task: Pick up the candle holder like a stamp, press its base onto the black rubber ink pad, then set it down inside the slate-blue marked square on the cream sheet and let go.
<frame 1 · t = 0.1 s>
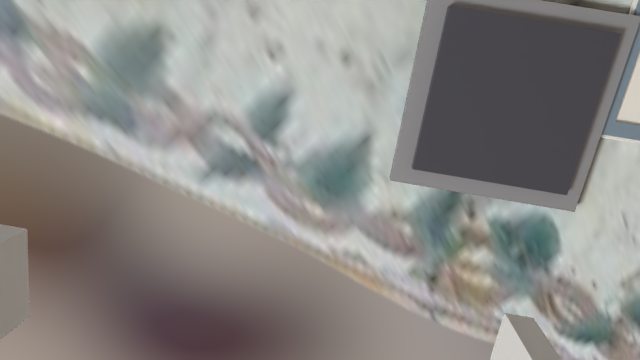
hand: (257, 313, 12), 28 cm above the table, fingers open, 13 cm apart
ink pad: (503, 102, 37), on the table
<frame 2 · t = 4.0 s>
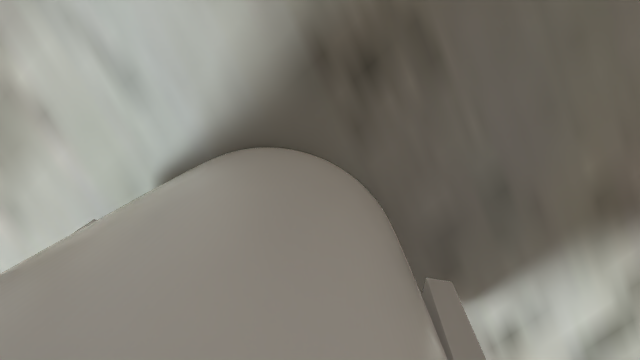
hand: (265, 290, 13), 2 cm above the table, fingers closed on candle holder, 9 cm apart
candle holder: (275, 264, 15), on the table, touching gripper
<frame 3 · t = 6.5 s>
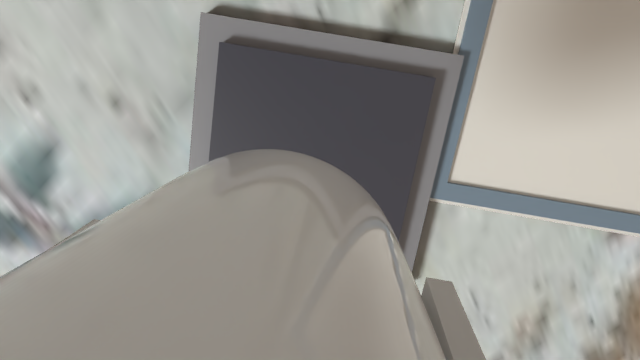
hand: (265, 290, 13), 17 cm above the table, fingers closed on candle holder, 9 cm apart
marked square: (605, 79, 27), on the table
ink pad: (312, 158, 30), on the table
candle holder: (275, 265, 15), point 16 cm above the table, touching gripper
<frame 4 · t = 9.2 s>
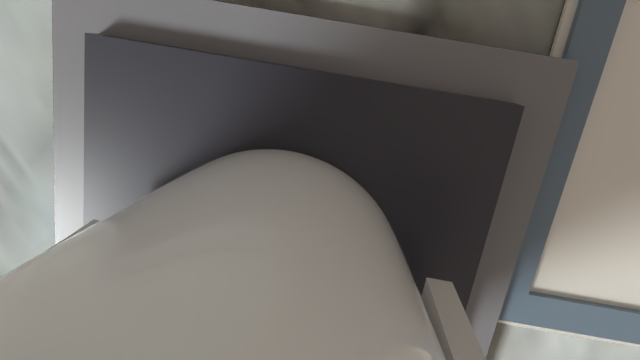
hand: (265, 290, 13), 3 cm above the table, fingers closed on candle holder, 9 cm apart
ink pad: (282, 245, 17), on the table
candle holder: (274, 265, 15), point 2 cm above the table, touching gripper, ink pad
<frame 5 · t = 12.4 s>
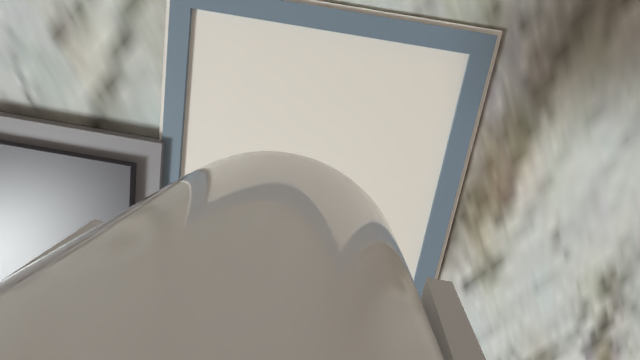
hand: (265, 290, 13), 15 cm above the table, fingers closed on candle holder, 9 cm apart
marked square: (309, 164, 28), on the table
ink pad: (46, 234, 31), on the table
candle holder: (274, 267, 15), point 13 cm above the table, touching gripper
when the fingers open (3 cm above the table, at t = 14.9 s): candle holder drops 1 cm, resting on marked square.
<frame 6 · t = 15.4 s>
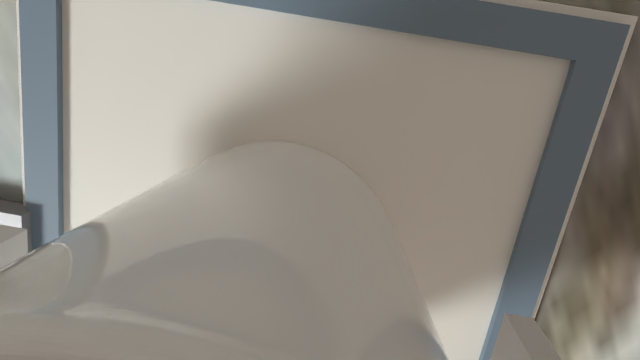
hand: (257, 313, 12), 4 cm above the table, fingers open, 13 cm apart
marked square: (280, 248, 16), on the table
candle holder: (279, 249, 16), resting on marked square
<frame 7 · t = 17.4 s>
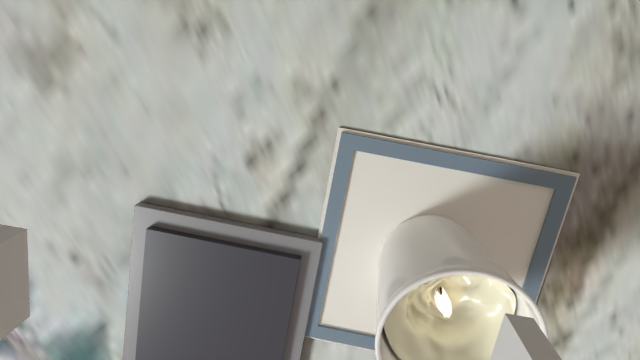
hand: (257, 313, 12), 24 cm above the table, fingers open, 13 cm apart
marked square: (428, 259, 37), on the table
ink pad: (219, 302, 40), on the table
candle holder: (428, 260, 37), resting on marked square
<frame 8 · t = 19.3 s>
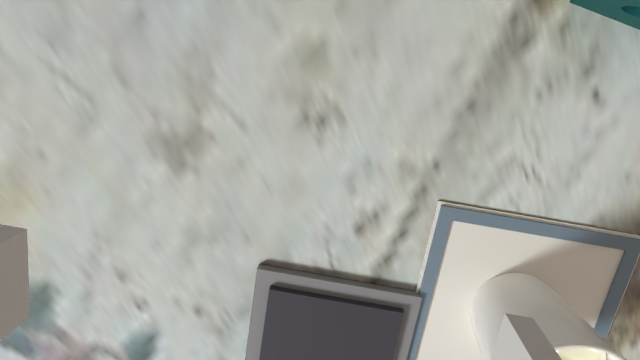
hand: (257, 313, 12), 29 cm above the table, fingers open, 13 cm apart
marked square: (512, 308, 43), on the table
ink pad: (326, 346, 46), on the table
candle holder: (511, 308, 43), resting on marked square
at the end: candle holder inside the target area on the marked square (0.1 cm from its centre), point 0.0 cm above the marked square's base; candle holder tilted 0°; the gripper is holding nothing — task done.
